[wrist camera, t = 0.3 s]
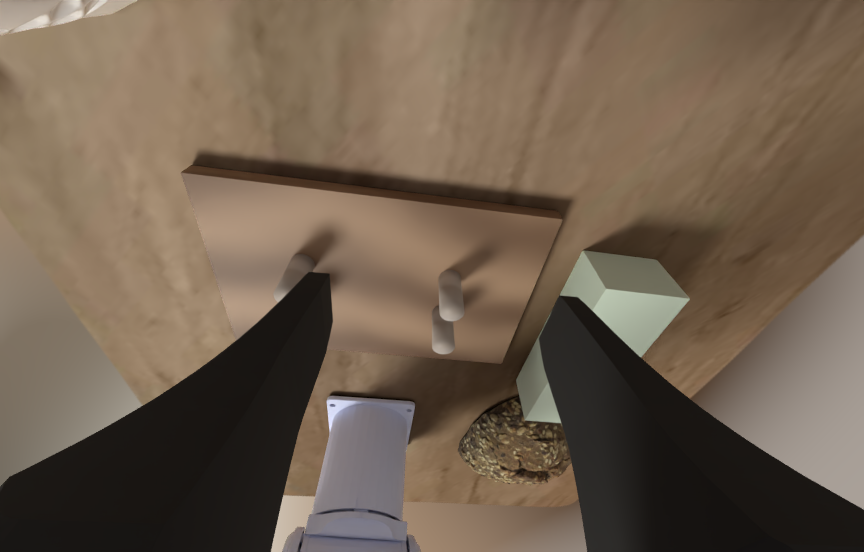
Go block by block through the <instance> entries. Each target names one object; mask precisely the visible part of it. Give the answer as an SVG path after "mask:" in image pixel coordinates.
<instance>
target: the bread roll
mask: <svg viewBox="0 0 864 552" xmlns="http://www.w3.org/2000/svg"><path fill="white" fill-rule="evenodd" d="M458 452H459V454H460V456H461V457H462V459H463V460H464V462H465V463H466V464H467V465H468V466H470V467H471V468H472V470H474V471H475V472H477V473H479V474H481V476H484V477H488V479H492V478H493V479H494V480H495V482H498V481H501V482H503V483H505V482H507V483H508V484H510V483H517V484H519V483H521V484H524V483H525V484H527V485H533V484H543V483H547V482H548V481H549V480H550V479H552V478H554V477H559V476H560V475H561V474H563V472H564V471H565V470H566V468H567V467H568V465H570V464H571V463H572V462H571V457H570V452H569V448H568V444H567V440H566V437H565V433H564V430H563V427H562V424H561V423H553V422H540V421H527V420H525V419H524V415H523V410H522V406H521V401H520V397H515V398H512V399H510V400H508V401H506V402H504V403H502V404H500V405H498V406H497V407H495V408H494V409H492V410H490V411H488V412H486V413H484V414H483V415H482V416H481V417H480V418H479V419H478V420H477V421H476V422H475V423H474V424H472V426H471V427H470V429H469V431H468V432H467V434H466V435H465V436H464V438H463V439H462V440H461V441H460V443H459V448H458Z"/></svg>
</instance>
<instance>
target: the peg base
mask: <svg viewBox="0 0 864 552" xmlns="http://www.w3.org/2000/svg"><path fill="white" fill-rule="evenodd" d="M181 175H182V178H183V181H184V184H185V187H186V190H187V193H188V196H189V199H190V202H191V205H192V208H193V211H194V214H195V217H196V220H197V223H198V226H199V229H200V232H201V236H202V239H203V242H204V245H205V248H206V251H207V254H208V257H209V260H210V263H211V266H212V269H213V272H214V275H215V278H216V281H217V284H218V287H219V290H220V293H221V296H222V299H223V302H224V305H225V309H226V312H227V315H228V318H229V321H230V324H231V327H232V330H233V333H234V336H235V339H236V340H237V339H239V338H240V337H241V336H242V335H243V334H244V333H245V332H247V331H248V330H249V329H250V328H251V327H252V326H254V325H255V324H256V323H257V322H258V321H259V320H260V319H261V318H263V317H264V316H265V315H266V314H267V313H268V312H269V311H270V310H271V309H272V308H273V307H274V306H275V305H276V304H277V303H278V302H279V301H280V300H281V299H282V298H283V297H284V296H285V295H286V294H287V293H288V292H289V291H290V290H291V289H292V288H293V287H294V286H295V285H296V284H297V283H298V282H299V281H300V280H301V279H302V278H303V277H304V276H305V275H306V274H307V273H308V272H317V273H328V274H330V285H331V299H332V313H333V324H332V329H331V333H330V338H329V342H328V347H327V349H328V350H340V351H352V352H364V353H376V354H389V355H401V356H413V357H425V358H437V359H449V360H462V361H474V362H486V363H498V364H502V361H503V359H504V357H505V354H506V352H507V350H508V347H509V345H510V343H511V340H512V338H513V336H514V333H515V331H516V329H517V326H518V324H519V321H520V319H521V317H522V314H523V312H524V310H525V307H526V305H527V303H528V300H529V298H530V296H531V293H532V291H533V289H534V286H535V284H536V282H537V279H538V277H539V275H540V272H541V270H542V267H543V265H544V263H545V260H546V258H547V256H548V253H549V251H550V249H551V246H552V244H553V242H554V239H555V237H556V235H557V232H558V230H559V228H560V225H561V223H562V221H563V219H562V217H561V215H560V214H559V212H558V211H555V210H547V209H539V208H531V207H523V206H515V205H507V204H499V203H491V202H483V201H475V200H467V199H459V198H451V197H443V196H435V195H427V194H419V193H411V192H403V191H395V190H387V189H379V188H371V187H363V186H355V185H347V184H339V183H331V182H323V181H315V180H307V179H299V178H291V177H283V176H275V175H267V174H259V173H251V172H243V171H235V170H227V169H219V168H211V167H203V166H195V165H191V166H189V167H188V168H187V169H185V170H184V171H182V172H181Z"/></svg>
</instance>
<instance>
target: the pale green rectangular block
mask: <svg viewBox="0 0 864 552" xmlns="http://www.w3.org/2000/svg"><path fill="white" fill-rule="evenodd" d="M560 295H561V296H572V297H578V298H579V299H580V300H582V301H583V302H584V303H585V304H586V305H587V306H588V307H589V308H590V309H591V310H592V311H593V312H594V313H595V314H596V315H597V316H598V317H599V318H600V319H601V320H602V321H603V322H604V323H605V324H606V325H607V326H608V327H609V328H610V329H611V330H612V331H613V332H614V333H615V334H616V335H617V336H618V337H620V338H621V339H622V340H623V341H624V342H625V343H626V344H627V345H628V346H629V347H630V348H631V349H632V350H633V351H634V352H635V353H636V354H637V355H638V356H640V357H642V356H643V354H644V353H645V352H646V351H647V350H648V348H649V347H650V346H651V345H652V344H653V342H654V341H655V340H656V339H657V338H658V337H659V335H660V334H661V333H662V332H663V331H664V329H665V328H666V327H667V326H668V325H669V323H670V322H671V321H672V320H673V319H674V317H675V316H676V315H677V314H678V313H679V312H680V310H681V309H682V308H683V307H684V306H685V304H686V303H687V302H688V301H689V300H690V298H689V297H688V296H687V294H686V293H685V292H684V291H683V290H682V289H681V288H680V286H679V285H678V284H677V283H676V282H675V281H674V279H673V278H672V277H671V276H670V275H669V274H668V272H667V271H666V270H665V269H664V268H663V267H662V265H661V264H660V263H659V262H658V261H657V260H655V259H648V258H640V257H632V256H624V255H616V254H608V253H600V252H593V251H585V250H583V251H582V253H581V255H580V257H579V259H578V261H577V263H576V265H575V267H574V268H573V270H572V272H571V274H570V276H569V278H568V280H567V282H566V284H565V286H564V288H563V290H562V292H561V294H560ZM552 310H553V309H552ZM551 312H552V311H551ZM550 314H551V313H550ZM549 316H550V315H549ZM548 318H549V317H548ZM547 320H548V319H547ZM546 322H547V321H546ZM545 324H546V323H545ZM544 326H545V325H544ZM543 328H544V327H543ZM542 330H543V329H542ZM541 332H542V331H541ZM541 332H540V334H539V336H538V338H537V340H536V342H535V344H534V346H533V348H532V350H531V352H530V354H529V356H528V358H527V360H526V362H525V364H524V365H523V367H522V369H521V371H520V373H519V375H518V377H517V379H516V383H517V388H518V392H519V397H520V401H521V406H522V410H523V415H524V419H525V420H527V421H540V422H553V423H561V420H560V417H559V414H558V411H557V408H556V405H555V402H554V399H553V395H552V392H551V389H550V386H549V383H548V380H547V376H546V373H545V370H544V366H543V361H542V355H541V349H540V343H539V337H540V335H541Z"/></svg>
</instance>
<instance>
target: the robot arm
mask: <svg viewBox="0 0 864 552" xmlns="http://www.w3.org/2000/svg"><path fill="white" fill-rule="evenodd" d="M332 324H333V313H332V299H331V285H330V274H328V273H317V272H308V273H307V274H306V275H305V276H304V277H303V278H302V279H301V280H300V281H299V282H298V283H297V284H296V285H295V286H294V287H293V288H292V289H291V290H290V291H289V292H288V293H287V294H286V295H285V296H284V297H283V298H282V299H281V300H280V301H279V302H278V303H277V304H276V305H275V306H274V307H273V308H272V309H271V310H270V311H269V312H268V313H267V314H266V315H265V316H264V317H263V318H261V319H260V320H259V321H258V322H257V323H256V324H255V325H254V326H252V327H251V328H250V329H249V330H248V331H247V332H245V333H244V334H243V335H242V336H241V337H240V338H239V339H237V340H236V341H235V342H234V343H233V344H231V345H230V346H229V347H228V348H226V349H225V350H224V351H223V352H221V353H220V354H219V355H217V356H216V357H215V358H213V359H212V360H211V361H209V362H208V363H207V364H205V365H204V366H203V367H201V368H200V369H198V370H197V371H196V372H194V373H193V374H191V375H190V376H188V377H187V378H185V379H184V380H182V381H181V382H179V383H178V384H176V385H175V386H173V387H172V388H170V389H169V390H167V391H166V392H164V393H163V394H161V395H160V396H158V397H157V398H155V399H153V400H152V401H150V402H148V403H147V404H145V405H143V406H142V407H140V408H138V409H137V410H135V411H133V412H132V413H130V414H128V415H126V416H125V417H123V418H121V419H120V420H118V421H116V422H114V423H112V424H111V425H109V426H107V427H105V428H104V429H102V430H100V431H98V432H96V433H95V434H93V435H91V436H89V437H87V438H85V439H84V440H82V441H80V442H78V443H76V444H74V445H72V446H70V447H68V448H66V449H64V450H62V451H60V452H58V453H56V454H55V455H52V456H50V457H48V458H46V459H44V460H42V461H41V462H39V463H37V464H35V465H33V466H31V467H29V468H27V469H25V470H23V471H21V472H19V473H17V474H14V475H13V476H10V477H9V478H8V479H7V480H6V481H5V482H4V483H3V484H2V485H1V486H0V552H271V548H272V543H273V538H274V534H275V528H276V525H277V520H278V516H279V511H280V506H281V502H282V497H283V493H284V489H285V485H286V481H287V476H288V472H289V468H290V464H291V460H292V456H293V452H294V448H295V444H296V440H297V436H298V432H299V429H300V426H301V422H302V419H303V416H304V413H305V410H306V408H307V405H308V402H309V399H310V396H311V393H312V391H313V388H314V385H315V382H316V379H317V377H318V374H319V371H320V368H321V365H322V362H323V360H324V357H325V354H326V351H327V347H328V342H329V338H330V333H331V329H332ZM539 343H540V349H541V355H542V361H543V366H544V370H545V373H546V376H547V380H548V383H549V386H550V389H551V392H552V395H553V399H554V402H555V405H556V408H557V411H558V414H559V417H560V420H561V424H562V427H563V430H564V433H565V437H566V440H567V444H568V448H569V452H570V457H571V462H572V466H573V471H574V476H575V481H576V486H577V492H578V497H579V502H580V508H581V513H582V519H583V526H584V532H585V539H586V546H587V552H864V510H863V509H862V508H860V507H858V506H856V505H854V504H853V503H851V502H849V501H847V500H845V499H844V498H842V497H840V496H838V495H837V494H835V493H833V492H831V491H830V490H828V489H826V488H824V487H823V486H821V485H819V484H817V483H816V482H814V481H812V480H810V479H808V478H807V477H805V476H803V475H802V474H800V473H798V472H797V471H795V470H793V469H792V468H790V467H789V466H787V465H785V464H784V463H782V462H781V461H779V460H777V459H776V458H774V457H772V456H771V455H769V454H768V453H766V452H764V451H763V450H761V449H760V448H758V447H757V446H755V445H754V444H752V443H751V442H749V441H748V440H746V439H745V438H743V437H742V436H740V435H739V434H737V433H736V432H734V431H733V430H731V429H730V428H729V427H727V426H726V425H724V424H723V423H721V422H720V421H719V420H717V419H716V418H714V417H713V416H712V415H710V414H709V413H708V412H706V411H705V410H703V409H702V408H701V407H699V406H698V405H697V404H695V403H694V402H693V401H692V400H690V399H689V398H688V397H687V396H685V395H684V394H683V393H681V392H680V391H679V390H678V389H676V388H675V387H674V386H673V385H672V384H670V383H669V382H668V381H667V380H665V379H664V378H663V377H662V376H661V375H660V374H659V373H657V372H656V371H655V370H654V369H653V368H652V367H651V366H650V365H648V364H647V363H646V362H645V361H644V360H643V359H642V358H641V357H640V356H638V355H637V354H636V353H635V352H634V351H633V350H632V349H631V348H630V347H629V346H628V345H627V344H626V343H625V342H624V341H623V340H622V339H621V338H620V337H618V336H617V335H616V334H615V333H614V332H613V331H612V330H611V329H610V328H609V327H608V326H607V325H606V324H605V323H604V322H603V321H602V320H601V319H600V318H599V317H598V316H597V315H596V314H595V313H594V312H593V311H592V310H591V309H590V308H589V307H588V306H587V305H586V304H585V303H584V302H583V301H582V300H580V299H579V298H578V297H572V296H561V295H559V297H558V299H557V301H556V303H555V305H554V307H553V310H552V312H551V314H550V316H549V318H548V320H547V322H546V324H545V326H544V328H543V330H542V332H541V335H540V337H539ZM327 409H328V419H329V429H330V435H329V439H328V444H327V448H326V453H325V457H324V461H323V466H322V470H321V475H320V479H319V483H318V488H317V492H316V497H315V501H314V505H313V510H312V514H310V515H309V517H308V522H307V526H306V530H305V528H304V527H297V528H296V530H295V531H294V532H293V533H291V534H290V535H289V536H288V537H287V540H286V542H285V545H284V548H283V551H282V552H421V550H420V547H419V545H418V544H417V542H416V540H415V538H414V536H413V535H407V522H404V521H402V517H403V498H404V478H405V459H406V450H407V445H408V440H409V435H410V430H411V425H412V420H413V415H414V410H415V403H414V402H412V401H401V400H386V399H372V398H358V397H344V396H329V397H328V399H327ZM304 530H305V533H304Z"/></svg>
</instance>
